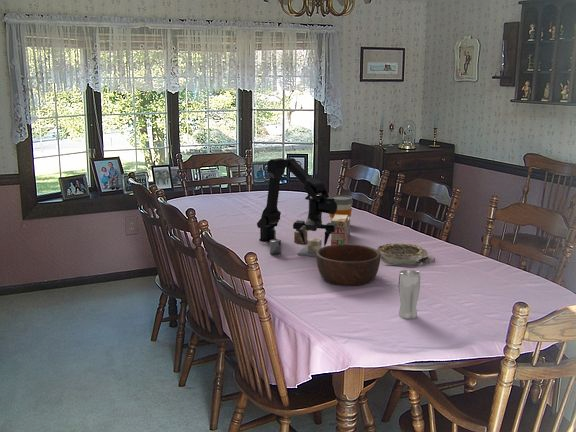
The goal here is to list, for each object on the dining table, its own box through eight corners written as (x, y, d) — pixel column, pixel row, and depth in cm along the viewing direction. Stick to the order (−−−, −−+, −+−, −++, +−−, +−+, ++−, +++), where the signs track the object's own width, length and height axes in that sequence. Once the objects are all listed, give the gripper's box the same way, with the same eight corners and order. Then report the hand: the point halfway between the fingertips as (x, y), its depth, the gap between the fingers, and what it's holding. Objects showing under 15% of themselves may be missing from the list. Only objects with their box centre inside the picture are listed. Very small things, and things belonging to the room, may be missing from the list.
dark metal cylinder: (268, 254, 274) (268, 241, 273) (272, 251, 279) (271, 238, 277) (279, 255, 273) (279, 242, 271) (282, 252, 277) (282, 239, 276)
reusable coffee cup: (346, 221, 333) (346, 194, 329) (355, 227, 321) (356, 198, 318) (324, 223, 329) (324, 195, 325) (333, 229, 317) (333, 200, 314)
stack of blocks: (337, 234, 308) (337, 210, 306) (350, 235, 307) (350, 210, 304) (330, 246, 288) (331, 220, 285) (344, 246, 287) (344, 220, 284)
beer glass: (402, 310, 212) (404, 267, 208) (421, 314, 208) (424, 271, 205) (393, 316, 206) (395, 273, 203) (413, 321, 202) (415, 277, 199)
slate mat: (297, 255, 274) (298, 253, 274) (305, 247, 285) (305, 246, 285) (324, 257, 270) (324, 255, 270) (331, 249, 282) (331, 248, 281)
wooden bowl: (363, 293, 228) (363, 266, 226) (303, 281, 241) (304, 255, 238) (390, 274, 249) (391, 249, 246) (334, 264, 261) (334, 240, 259)
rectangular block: (294, 242, 294) (294, 232, 293) (297, 239, 299) (297, 229, 298) (304, 243, 293) (304, 232, 292) (307, 240, 297) (307, 230, 296)
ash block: (307, 251, 276) (307, 240, 275) (310, 248, 281) (310, 237, 279) (318, 252, 274) (318, 241, 273) (321, 249, 279) (321, 238, 278)
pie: (362, 263, 263) (362, 252, 262) (377, 247, 288) (377, 237, 287) (429, 271, 253) (430, 259, 252) (439, 254, 278) (439, 243, 277)
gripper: (289, 213, 268) (289, 248, 272) (331, 216, 263) (331, 251, 267) (296, 207, 279) (296, 241, 282) (337, 210, 273) (336, 244, 277)
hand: (314, 244), depth 277 cm, fingers open, 9 cm apart
